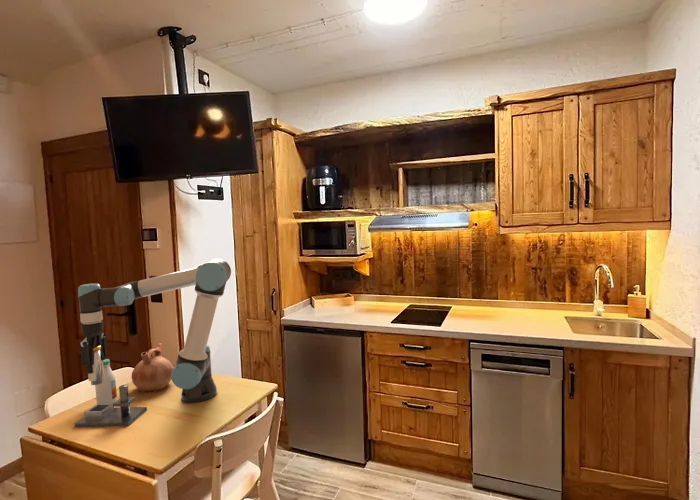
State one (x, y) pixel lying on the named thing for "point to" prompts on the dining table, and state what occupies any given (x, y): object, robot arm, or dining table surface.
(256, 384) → the dining table surface
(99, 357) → the glass jar
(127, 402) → the grey fixture stand
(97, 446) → the dining table surface
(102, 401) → the milk bottle
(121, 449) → the dining table surface
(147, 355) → the jug
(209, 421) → the dining table surface
